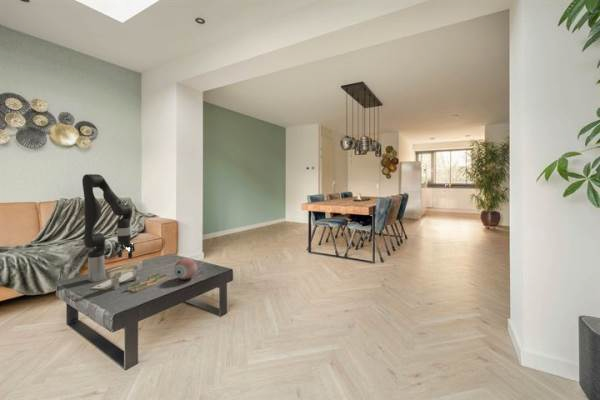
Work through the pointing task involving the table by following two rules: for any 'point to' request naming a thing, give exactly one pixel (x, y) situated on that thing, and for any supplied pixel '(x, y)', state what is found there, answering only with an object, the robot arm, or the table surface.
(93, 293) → the table surface
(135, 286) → the rack
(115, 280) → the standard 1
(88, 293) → the table surface
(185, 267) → the eyeball
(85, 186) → the robot arm
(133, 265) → the rail
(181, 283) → the table surface
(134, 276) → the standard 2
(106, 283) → the baseboard
